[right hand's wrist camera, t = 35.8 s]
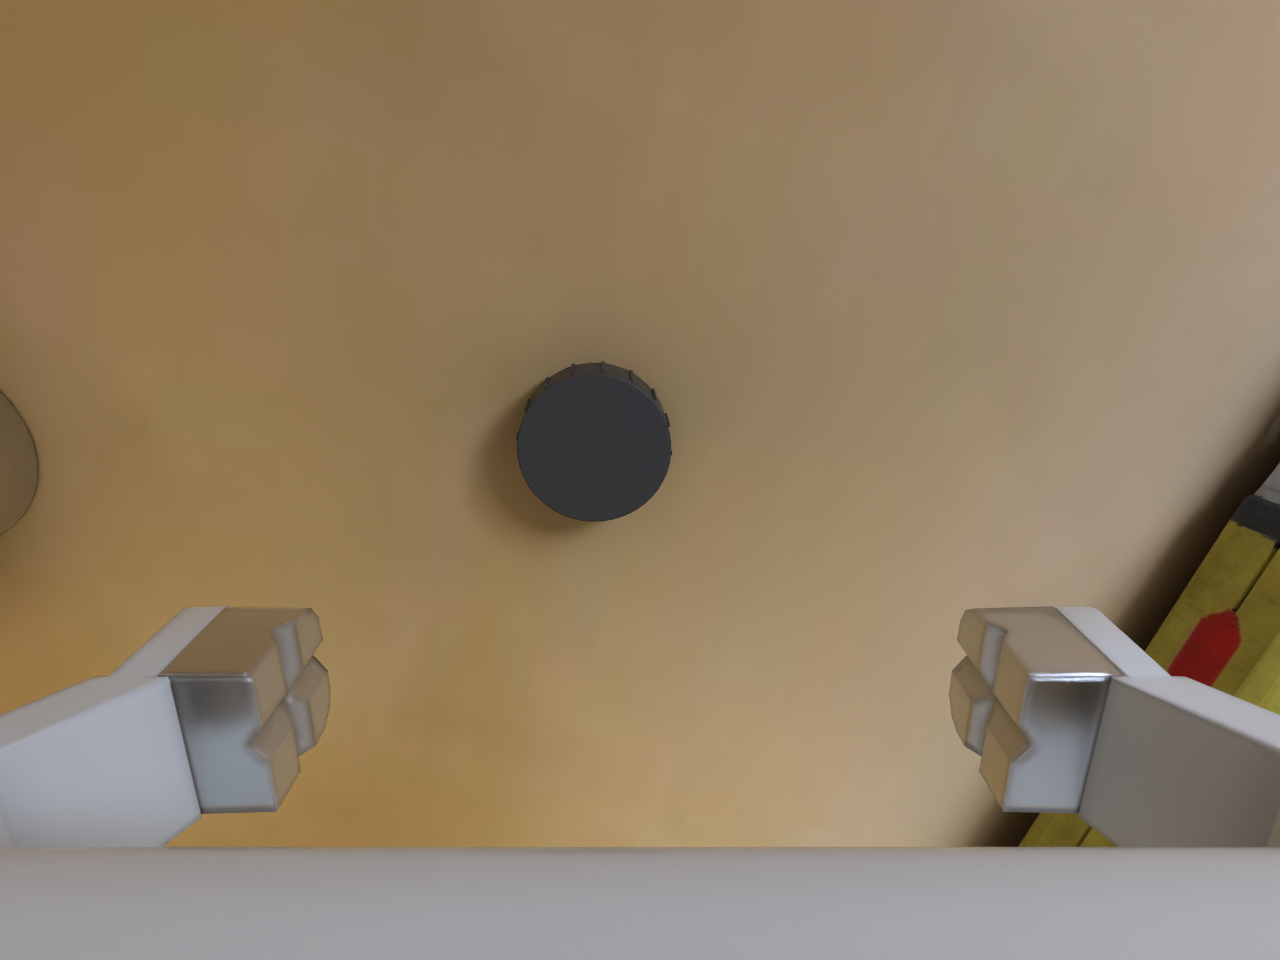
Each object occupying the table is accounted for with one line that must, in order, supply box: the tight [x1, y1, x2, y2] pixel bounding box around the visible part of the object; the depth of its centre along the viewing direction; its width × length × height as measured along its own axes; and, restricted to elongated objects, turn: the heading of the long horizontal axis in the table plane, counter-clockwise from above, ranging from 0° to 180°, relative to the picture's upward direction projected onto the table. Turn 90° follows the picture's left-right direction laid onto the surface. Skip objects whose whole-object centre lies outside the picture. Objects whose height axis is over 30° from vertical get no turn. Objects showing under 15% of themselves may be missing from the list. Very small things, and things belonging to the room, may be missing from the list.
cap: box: [516, 361, 672, 521], centre depth 21 cm, size 4×4×2 cm
